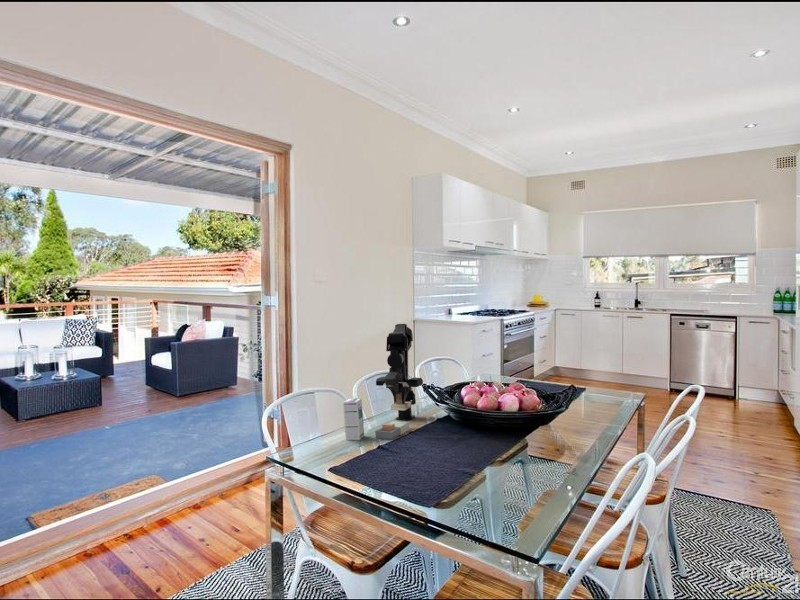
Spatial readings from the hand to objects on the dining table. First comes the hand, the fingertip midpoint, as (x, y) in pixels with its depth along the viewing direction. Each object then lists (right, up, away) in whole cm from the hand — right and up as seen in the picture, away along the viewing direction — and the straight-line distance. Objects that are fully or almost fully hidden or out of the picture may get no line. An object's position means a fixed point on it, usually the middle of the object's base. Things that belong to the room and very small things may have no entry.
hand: (400, 403), depth 192 cm
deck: (-1, -10, -5) cm, 11 cm away
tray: (-5, -10, -12) cm, 16 cm away
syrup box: (-17, -11, -11) cm, 23 cm away
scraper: (0, -2, 0) cm, 2 cm away
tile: (-4, -8, -10) cm, 13 cm away
